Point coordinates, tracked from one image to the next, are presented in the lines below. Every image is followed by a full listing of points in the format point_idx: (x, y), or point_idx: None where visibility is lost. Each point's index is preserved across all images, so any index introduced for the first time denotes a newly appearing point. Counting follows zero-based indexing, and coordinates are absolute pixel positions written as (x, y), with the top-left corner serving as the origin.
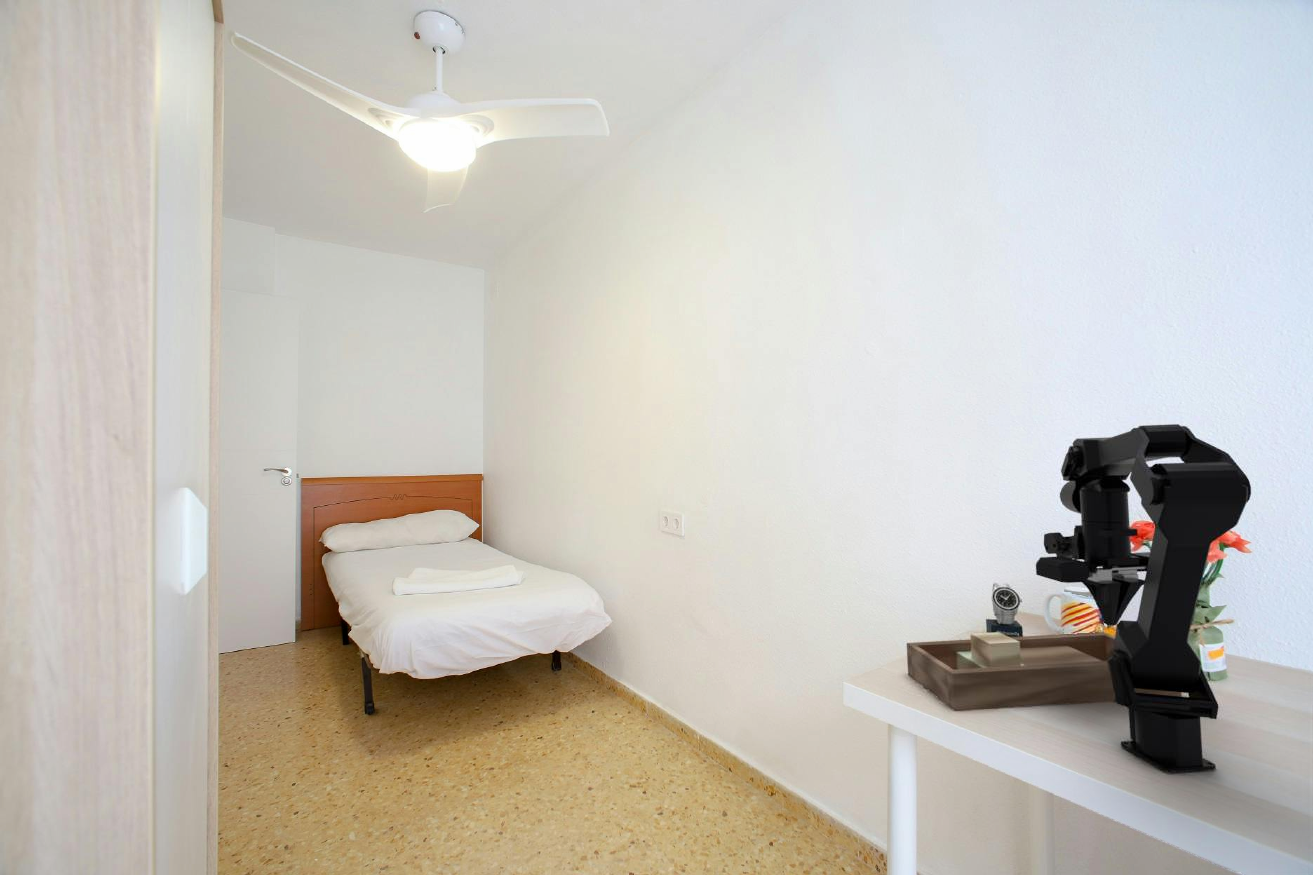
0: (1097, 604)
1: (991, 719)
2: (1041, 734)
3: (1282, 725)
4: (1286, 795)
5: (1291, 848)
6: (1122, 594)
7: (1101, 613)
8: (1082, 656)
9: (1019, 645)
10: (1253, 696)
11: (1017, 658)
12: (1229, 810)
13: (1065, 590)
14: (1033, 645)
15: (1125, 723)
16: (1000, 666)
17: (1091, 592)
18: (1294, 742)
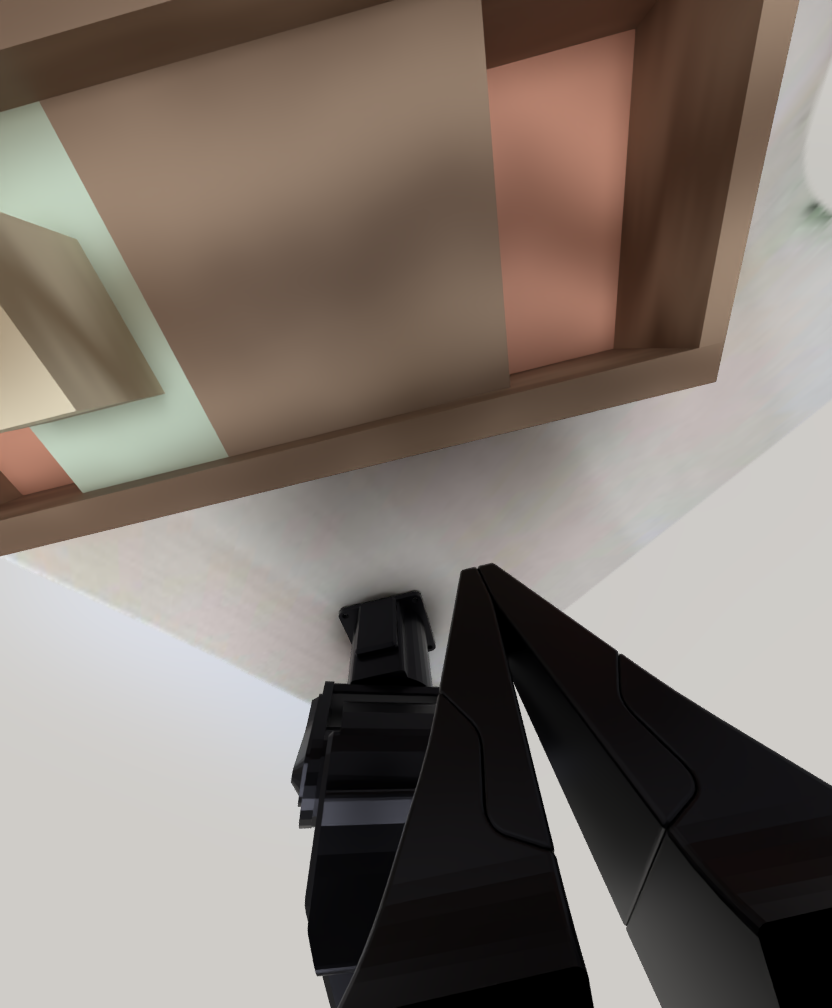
0: (445, 674)
1: (126, 546)
2: (220, 588)
3: (671, 502)
4: None
5: None
6: (621, 904)
7: (455, 613)
8: (457, 221)
9: (91, 406)
10: (793, 353)
11: (127, 401)
12: None
13: None
14: (264, 21)
15: (395, 529)
16: (80, 414)
17: (409, 836)
18: (619, 559)
